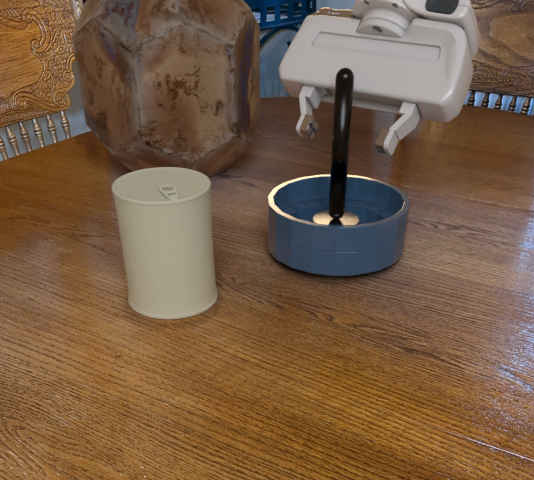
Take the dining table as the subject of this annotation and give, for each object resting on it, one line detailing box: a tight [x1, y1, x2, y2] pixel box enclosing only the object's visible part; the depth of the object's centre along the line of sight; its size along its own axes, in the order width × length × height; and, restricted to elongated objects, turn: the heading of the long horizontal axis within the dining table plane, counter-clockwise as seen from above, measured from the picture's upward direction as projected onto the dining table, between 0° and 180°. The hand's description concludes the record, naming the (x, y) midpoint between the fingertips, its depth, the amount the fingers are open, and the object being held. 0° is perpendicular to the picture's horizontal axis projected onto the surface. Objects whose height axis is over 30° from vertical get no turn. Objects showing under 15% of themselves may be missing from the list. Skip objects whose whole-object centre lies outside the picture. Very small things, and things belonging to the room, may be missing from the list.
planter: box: [71, 0, 261, 178], centre depth 93 cm, size 22×24×24 cm
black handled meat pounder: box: [312, 68, 359, 225], centre depth 74 cm, size 5×5×18 cm
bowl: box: [266, 173, 411, 277], centre depth 78 cm, size 15×15×6 cm
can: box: [111, 167, 219, 320], centre depth 68 cm, size 9×9×12 cm
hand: (342, 143), depth 72 cm, fingers open, 8 cm apart
